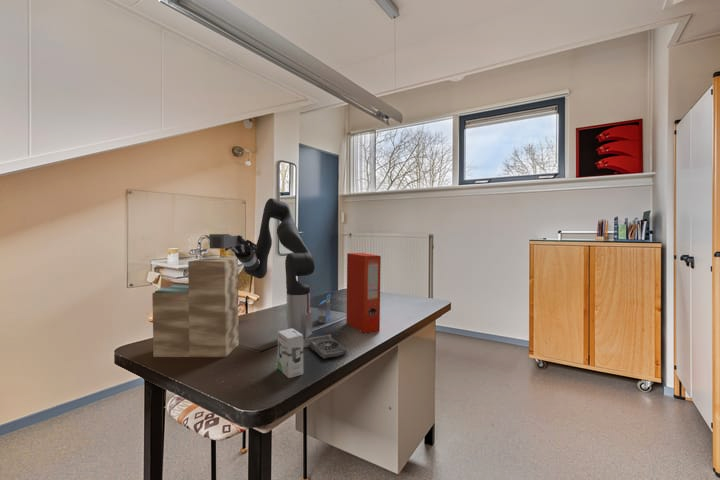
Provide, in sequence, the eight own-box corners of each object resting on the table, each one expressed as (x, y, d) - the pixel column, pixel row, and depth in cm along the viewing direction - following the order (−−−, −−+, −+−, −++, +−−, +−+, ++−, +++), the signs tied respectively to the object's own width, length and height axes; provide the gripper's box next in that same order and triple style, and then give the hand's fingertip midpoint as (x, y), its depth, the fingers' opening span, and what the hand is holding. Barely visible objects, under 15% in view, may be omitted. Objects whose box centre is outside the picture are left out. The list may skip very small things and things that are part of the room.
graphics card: (300, 338, 119) (330, 333, 125) (300, 348, 120) (330, 342, 125) (316, 355, 105) (350, 347, 110) (316, 366, 105) (350, 358, 110)
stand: (173, 344, 122) (172, 258, 121) (238, 344, 122) (237, 258, 121) (153, 356, 110) (151, 261, 109) (225, 357, 110) (224, 261, 109)
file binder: (362, 321, 153) (362, 252, 152) (380, 331, 138) (380, 255, 137) (346, 323, 150) (346, 253, 149) (362, 334, 134) (363, 256, 133)
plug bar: (232, 245, 138) (232, 233, 138) (244, 245, 138) (244, 233, 138) (209, 248, 116) (209, 234, 116) (223, 248, 116) (223, 234, 116)
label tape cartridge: (322, 317, 159) (322, 292, 159) (330, 318, 159) (330, 292, 158) (318, 322, 150) (318, 296, 150) (326, 323, 150) (326, 296, 150)
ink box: (276, 368, 101) (276, 330, 101) (291, 364, 104) (291, 327, 103) (288, 378, 94) (288, 337, 94) (304, 374, 97) (304, 334, 97)
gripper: (232, 247, 149) (218, 229, 134) (263, 248, 150) (252, 229, 134) (229, 263, 146) (214, 245, 131) (260, 263, 146) (249, 245, 131)
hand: (233, 237), depth 133 cm, fingers closed on plug bar, 3 cm apart
